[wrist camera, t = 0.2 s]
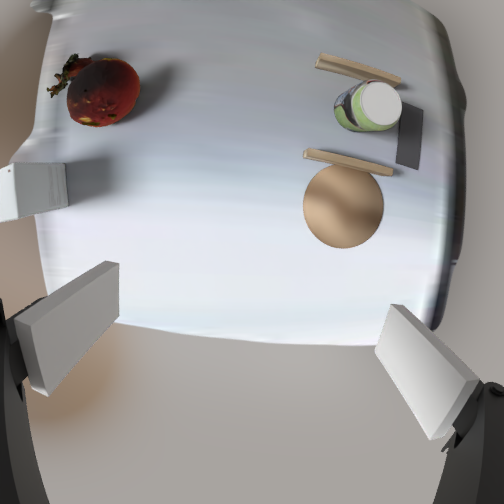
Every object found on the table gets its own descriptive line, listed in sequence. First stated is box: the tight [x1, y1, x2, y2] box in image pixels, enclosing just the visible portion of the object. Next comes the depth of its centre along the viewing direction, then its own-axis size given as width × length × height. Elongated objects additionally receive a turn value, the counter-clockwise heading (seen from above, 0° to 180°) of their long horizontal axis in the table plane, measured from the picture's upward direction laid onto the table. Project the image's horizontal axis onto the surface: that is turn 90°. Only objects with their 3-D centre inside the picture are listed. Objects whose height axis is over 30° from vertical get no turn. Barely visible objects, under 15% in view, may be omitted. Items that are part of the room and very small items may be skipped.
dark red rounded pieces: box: [47, 54, 140, 127], centre depth 32 cm, size 12×12×15 cm
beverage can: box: [334, 79, 402, 132], centre depth 31 cm, size 6×7×12 cm
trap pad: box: [396, 102, 423, 170], centre depth 37 cm, size 10×4×1 cm, turn 171°
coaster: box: [303, 165, 383, 248], centre depth 39 cm, size 12×12×1 cm
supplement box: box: [0, 163, 69, 223], centre depth 33 cm, size 7×7×13 cm
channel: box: [303, 53, 401, 176], centre depth 35 cm, size 15×12×4 cm
